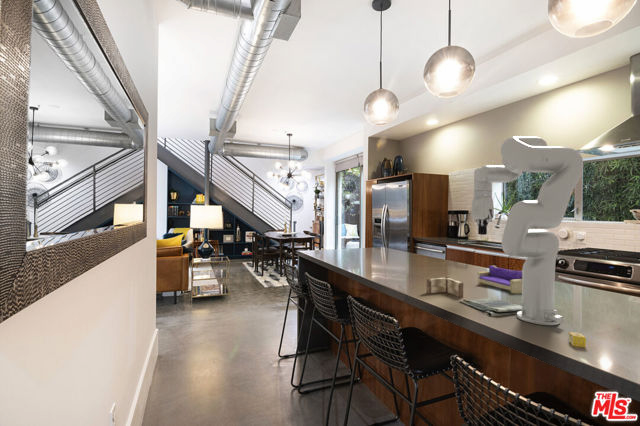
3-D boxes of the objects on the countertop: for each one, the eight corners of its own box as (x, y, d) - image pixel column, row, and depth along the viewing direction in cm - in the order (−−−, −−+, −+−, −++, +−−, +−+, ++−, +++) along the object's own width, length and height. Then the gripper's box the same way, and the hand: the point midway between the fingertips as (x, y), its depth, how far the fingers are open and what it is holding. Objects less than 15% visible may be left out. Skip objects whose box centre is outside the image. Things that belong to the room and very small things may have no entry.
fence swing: (443, 290, 151) (444, 277, 151) (446, 291, 149) (446, 277, 149) (426, 292, 147) (426, 278, 147) (428, 293, 146) (428, 279, 146)
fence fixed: (463, 298, 140) (463, 282, 140) (460, 298, 139) (460, 282, 139) (447, 291, 151) (447, 276, 151) (444, 291, 151) (444, 276, 151)
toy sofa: (476, 284, 167) (476, 265, 167) (489, 283, 170) (489, 264, 170) (512, 295, 147) (512, 272, 147) (526, 293, 150) (527, 271, 150)
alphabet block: (580, 343, 94) (580, 332, 94) (585, 347, 91) (586, 337, 91) (568, 342, 95) (568, 331, 95) (573, 346, 92) (573, 335, 92)
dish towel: (491, 301, 139) (492, 293, 139) (530, 314, 122) (530, 305, 122) (456, 304, 133) (456, 297, 133) (491, 318, 116) (491, 310, 116)
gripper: (465, 195, 157) (464, 233, 157) (487, 194, 142) (486, 235, 142) (478, 195, 158) (478, 233, 158) (502, 194, 143) (501, 235, 144)
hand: (482, 234), depth 150 cm, fingers closed
